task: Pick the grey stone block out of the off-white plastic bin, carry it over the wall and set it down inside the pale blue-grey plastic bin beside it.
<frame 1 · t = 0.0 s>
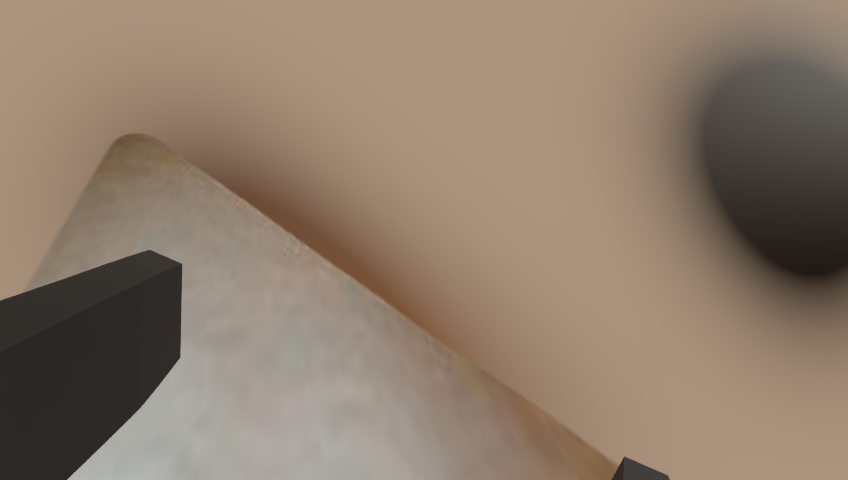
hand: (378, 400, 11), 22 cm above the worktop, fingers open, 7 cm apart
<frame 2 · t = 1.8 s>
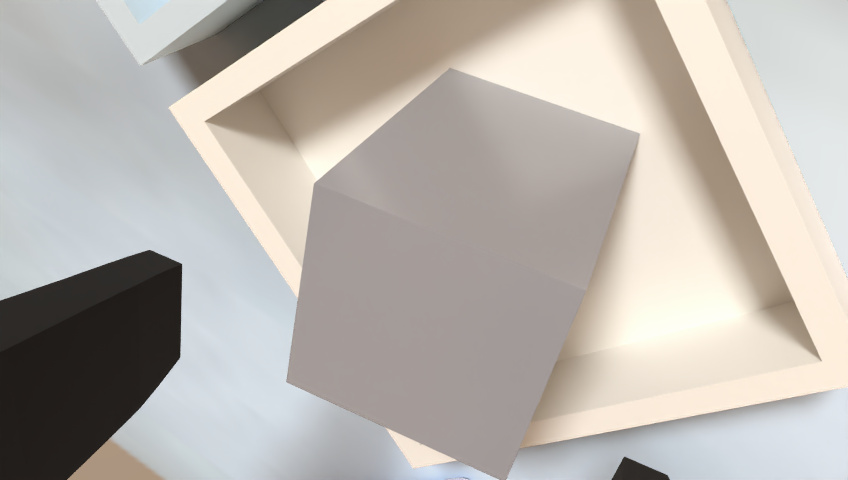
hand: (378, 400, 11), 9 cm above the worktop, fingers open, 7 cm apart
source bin: (521, 175, 18), on the worktop
stone block: (515, 185, 18), point 1 cm above the worktop, touching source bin
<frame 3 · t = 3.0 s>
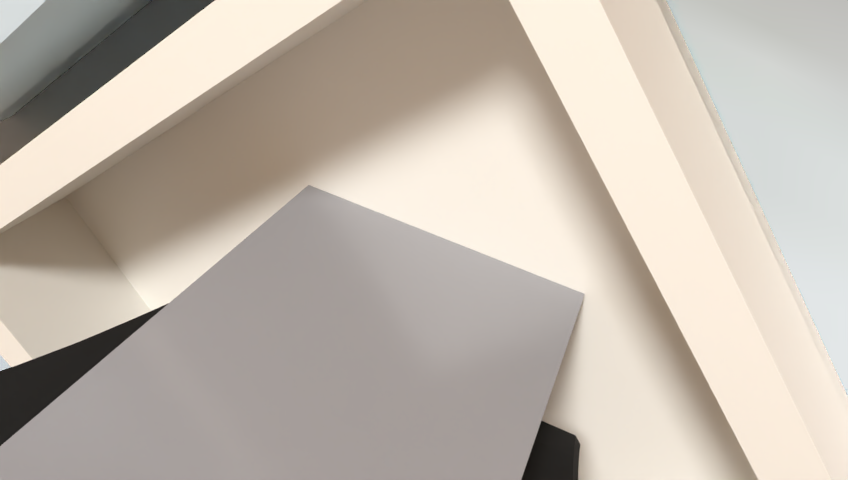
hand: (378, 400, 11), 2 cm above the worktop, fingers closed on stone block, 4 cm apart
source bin: (425, 325, 13), on the worktop
stone block: (412, 346, 12), point 1 cm above the worktop, touching gripper, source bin
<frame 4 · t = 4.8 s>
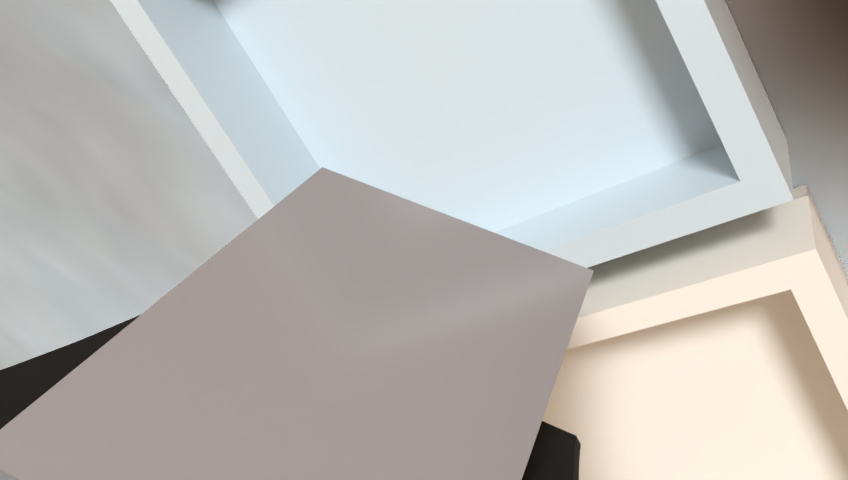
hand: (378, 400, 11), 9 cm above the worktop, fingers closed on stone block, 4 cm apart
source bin: (667, 427, 21), on the worktop
stone block: (423, 326, 12), point 7 cm above the worktop, touching gripper
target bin: (446, 29, 18), on the worktop
when the fingers open (3 cm above the worktop, at t = 6.6 s): stone block drops 1 cm, resting on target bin.
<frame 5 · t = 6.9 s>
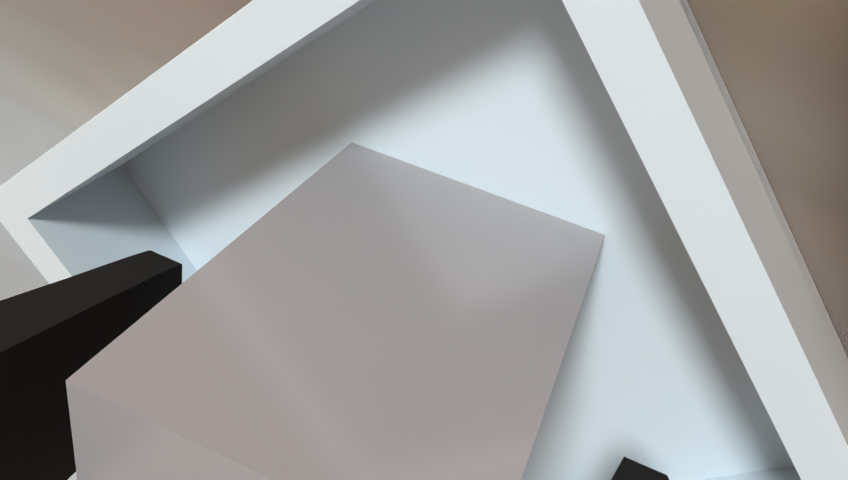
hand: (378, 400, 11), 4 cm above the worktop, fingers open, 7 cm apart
stone block: (445, 291, 13), point 1 cm above the worktop, touching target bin
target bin: (453, 280, 14), on the worktop
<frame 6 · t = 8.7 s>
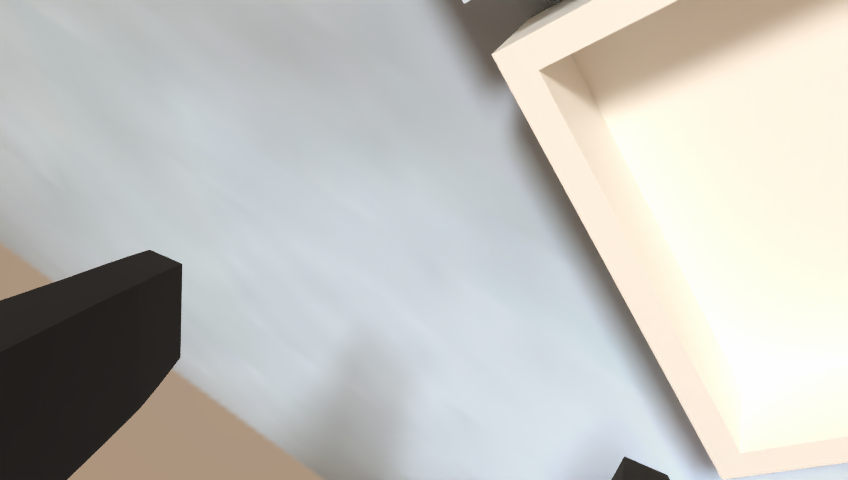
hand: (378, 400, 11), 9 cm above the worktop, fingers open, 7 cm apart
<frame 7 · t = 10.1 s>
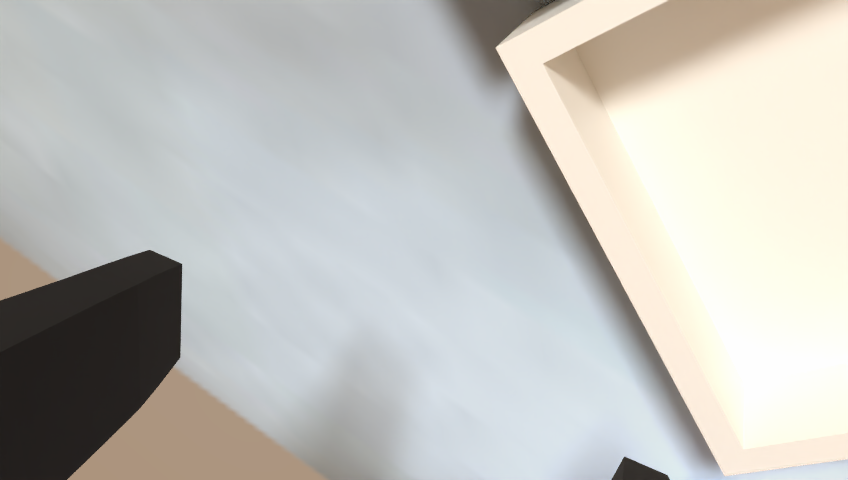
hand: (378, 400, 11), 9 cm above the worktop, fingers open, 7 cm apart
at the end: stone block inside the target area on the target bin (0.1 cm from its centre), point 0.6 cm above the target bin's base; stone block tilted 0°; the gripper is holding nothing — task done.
